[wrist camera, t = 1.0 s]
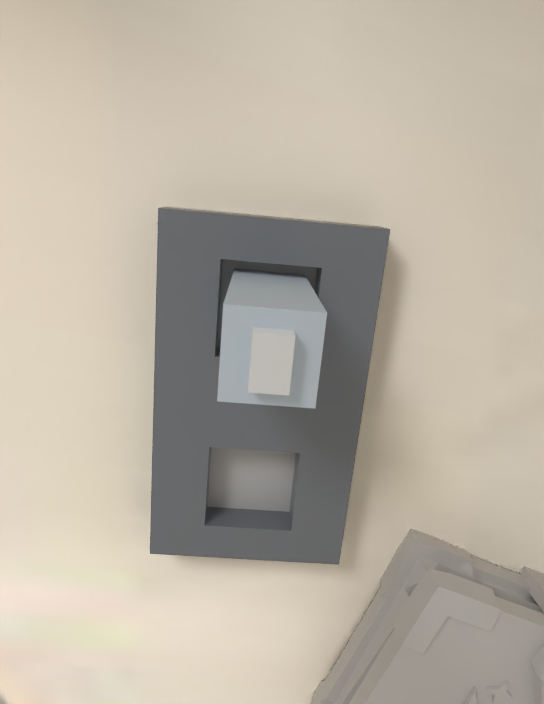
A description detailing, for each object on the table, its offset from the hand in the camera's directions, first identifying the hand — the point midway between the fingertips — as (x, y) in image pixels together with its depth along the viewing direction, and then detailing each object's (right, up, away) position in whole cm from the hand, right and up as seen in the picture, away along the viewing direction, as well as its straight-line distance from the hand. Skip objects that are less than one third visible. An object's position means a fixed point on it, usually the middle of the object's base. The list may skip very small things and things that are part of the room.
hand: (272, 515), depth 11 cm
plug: (0, +6, +19) cm, 20 cm away
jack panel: (-1, +1, +21) cm, 21 cm away
